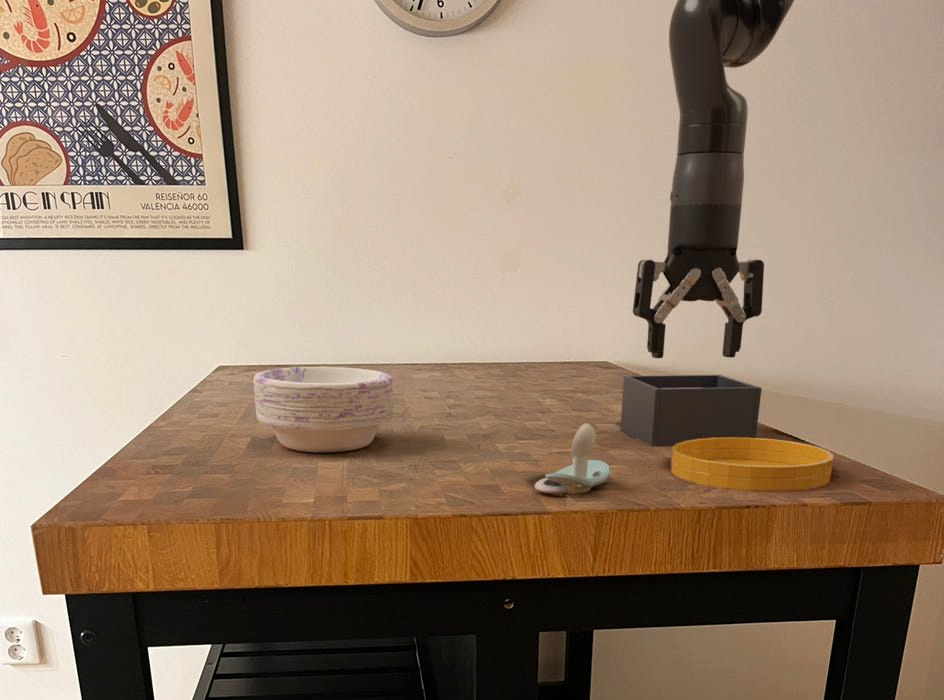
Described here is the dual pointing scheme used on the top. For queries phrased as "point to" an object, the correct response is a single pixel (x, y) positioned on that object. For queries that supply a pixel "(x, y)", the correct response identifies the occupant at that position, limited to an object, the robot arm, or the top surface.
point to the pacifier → (577, 467)
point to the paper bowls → (323, 406)
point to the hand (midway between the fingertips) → (693, 357)
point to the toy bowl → (751, 464)
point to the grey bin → (688, 408)
